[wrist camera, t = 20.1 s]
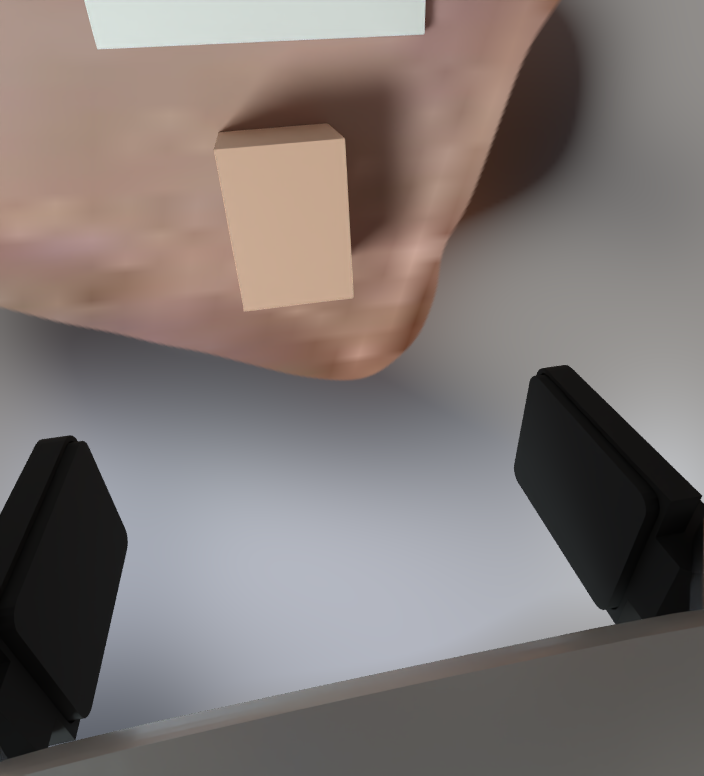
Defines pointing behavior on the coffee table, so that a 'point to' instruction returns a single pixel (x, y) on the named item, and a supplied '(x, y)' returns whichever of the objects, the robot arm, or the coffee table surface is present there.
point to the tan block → (287, 213)
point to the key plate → (247, 21)
